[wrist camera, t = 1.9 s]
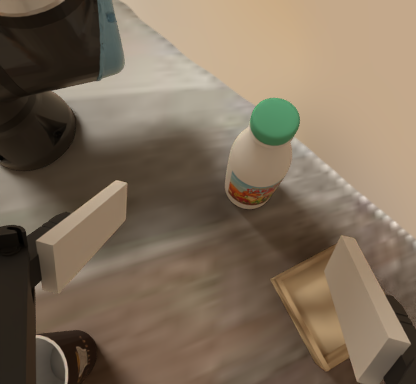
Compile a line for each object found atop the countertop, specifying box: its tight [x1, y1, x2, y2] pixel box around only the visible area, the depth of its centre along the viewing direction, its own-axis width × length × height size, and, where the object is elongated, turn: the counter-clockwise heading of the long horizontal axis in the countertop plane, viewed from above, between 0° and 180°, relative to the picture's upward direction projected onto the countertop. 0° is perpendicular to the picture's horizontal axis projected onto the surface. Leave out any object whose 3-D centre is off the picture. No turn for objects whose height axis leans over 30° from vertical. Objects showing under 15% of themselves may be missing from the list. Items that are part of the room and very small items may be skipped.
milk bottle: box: [225, 98, 300, 209], centre depth 35 cm, size 8×8×20 cm
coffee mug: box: [36, 330, 96, 384], centre depth 31 cm, size 12×9×10 cm
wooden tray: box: [270, 244, 385, 372], centre depth 37 cm, size 12×12×4 cm
